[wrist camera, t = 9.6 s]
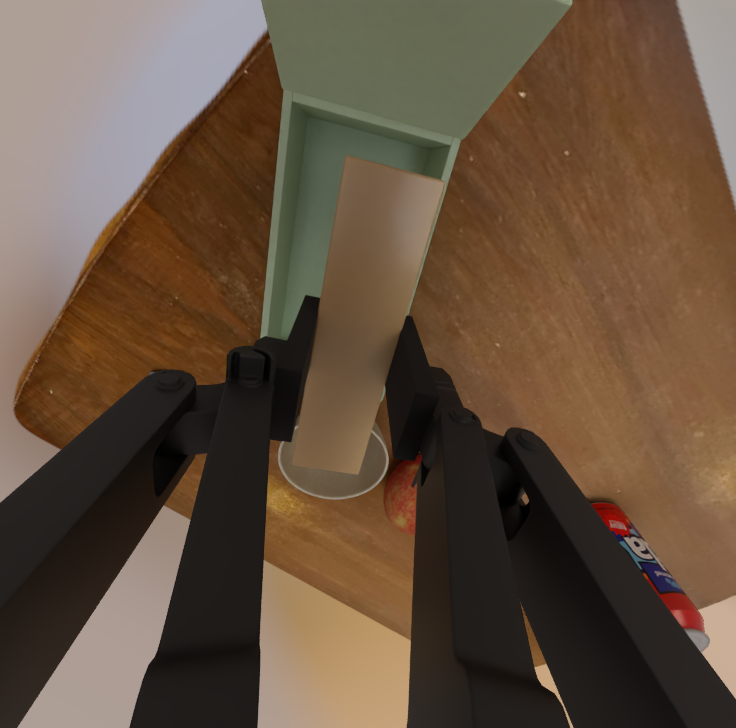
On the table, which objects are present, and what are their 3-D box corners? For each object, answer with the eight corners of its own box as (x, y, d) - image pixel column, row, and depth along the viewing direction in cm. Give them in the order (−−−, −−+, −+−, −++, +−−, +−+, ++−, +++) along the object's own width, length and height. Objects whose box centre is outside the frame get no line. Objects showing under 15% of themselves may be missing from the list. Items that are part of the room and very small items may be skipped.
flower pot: (359, 359, 36) (360, 401, 29) (398, 431, 40) (405, 480, 34) (272, 395, 37) (255, 442, 31) (318, 459, 42) (311, 511, 36)
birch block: (429, 177, 15) (447, 181, 12) (358, 431, 22) (358, 475, 19) (347, 156, 15) (344, 154, 12) (300, 422, 21) (291, 465, 18)
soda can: (548, 515, 48) (620, 649, 35) (605, 487, 45) (705, 619, 32) (573, 543, 51) (648, 675, 38) (628, 518, 48) (728, 650, 35)
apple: (464, 459, 43) (485, 518, 36) (420, 501, 46) (431, 561, 39) (410, 430, 40) (421, 487, 33) (368, 476, 43) (370, 536, 37)
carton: (302, 106, 26) (283, 87, 19) (436, 143, 27) (462, 137, 20) (275, 337, 34) (256, 379, 28) (377, 357, 36) (382, 401, 29)
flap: (281, 88, 18) (282, 80, 18) (463, 140, 20) (465, 132, 20) (234, -112, 10) (236, -129, 9) (571, 6, 11) (575, -10, 11)
